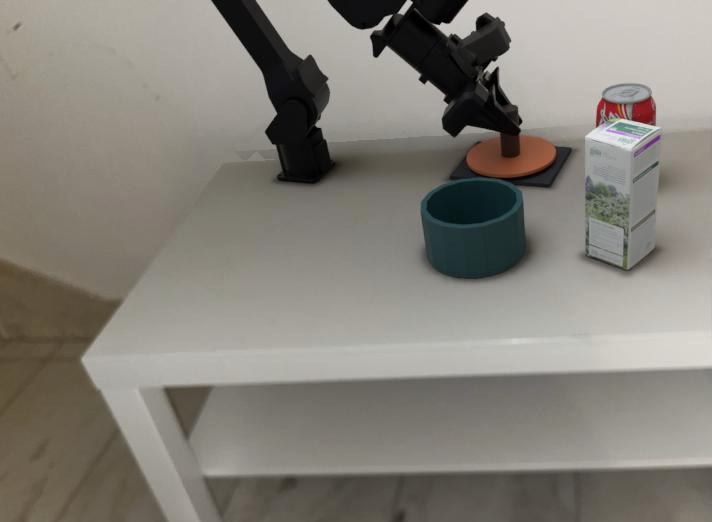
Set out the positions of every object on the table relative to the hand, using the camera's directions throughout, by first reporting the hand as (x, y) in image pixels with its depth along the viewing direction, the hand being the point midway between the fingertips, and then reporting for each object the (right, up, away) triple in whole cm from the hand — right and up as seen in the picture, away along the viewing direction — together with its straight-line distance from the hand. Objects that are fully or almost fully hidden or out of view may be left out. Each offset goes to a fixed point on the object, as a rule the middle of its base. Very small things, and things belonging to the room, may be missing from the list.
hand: (519, 128), depth 102 cm
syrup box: (+9, -19, -17) cm, 27 cm away
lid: (-1, -3, +3) cm, 4 cm away
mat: (-1, -4, +3) cm, 5 cm away
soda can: (+13, -8, -4) cm, 16 cm away
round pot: (-7, -18, -13) cm, 23 cm away
